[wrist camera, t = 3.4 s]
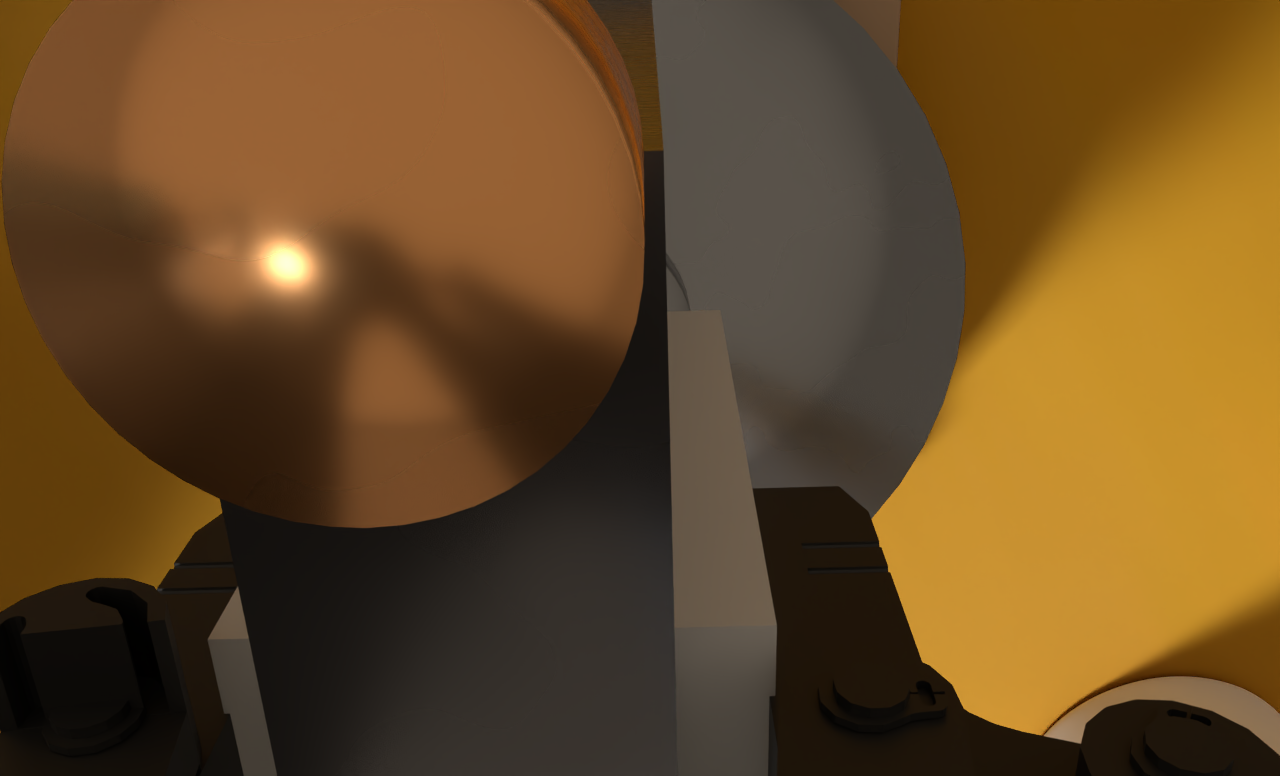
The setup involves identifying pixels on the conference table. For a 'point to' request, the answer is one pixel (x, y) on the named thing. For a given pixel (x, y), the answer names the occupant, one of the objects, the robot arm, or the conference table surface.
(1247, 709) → the mug
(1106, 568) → the conference table surface
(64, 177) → the lever on round base
